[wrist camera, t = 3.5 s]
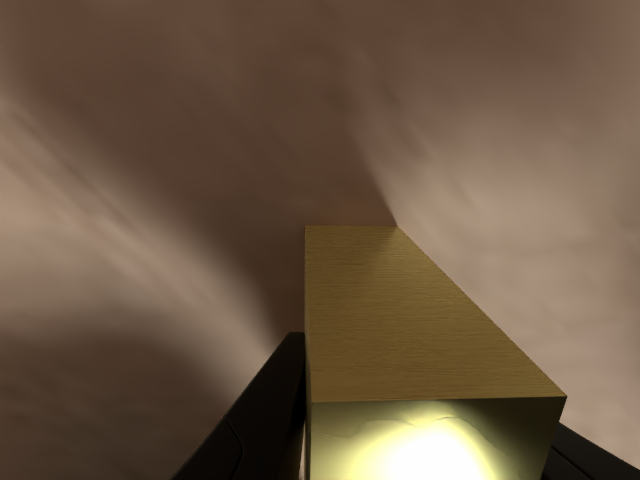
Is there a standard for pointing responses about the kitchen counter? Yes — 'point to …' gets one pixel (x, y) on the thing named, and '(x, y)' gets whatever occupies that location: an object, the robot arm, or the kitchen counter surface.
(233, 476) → the robot arm
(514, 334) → the kitchen counter surface
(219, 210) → the kitchen counter surface
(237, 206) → the kitchen counter surface
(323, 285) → the block
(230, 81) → the kitchen counter surface
